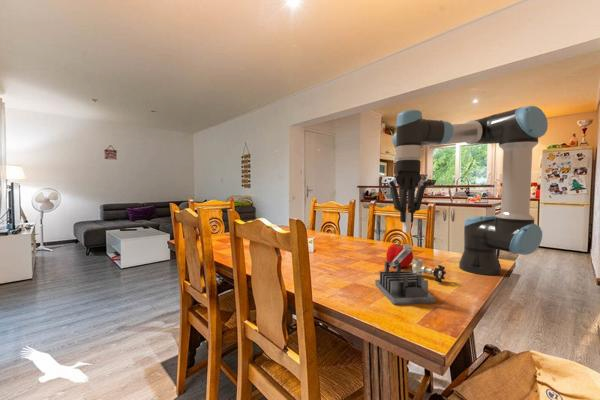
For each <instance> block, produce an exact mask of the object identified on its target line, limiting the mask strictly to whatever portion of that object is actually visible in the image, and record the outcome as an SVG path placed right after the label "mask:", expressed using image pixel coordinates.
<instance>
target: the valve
mask: <svg viewBox="0 0 600 400" xmlns="http://www.w3.org/2000/svg"><path fill="white" fill-rule="evenodd" d="M445 268H446V267H445V266H443V265H440V264H438V265H437V267H435V268H434V269H432V268H428V266H427V265H423V259H421V258H413V259H412V266H411V271H414V273H417V274H420V275H421V276H422V277H423V274H425V275H426V274H427V273H428V274H430V275H433V277H435V279H434V282H437V283H442V281H444V280H445V279H446V277H445V275H446V273H447V271H445Z"/></svg>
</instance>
